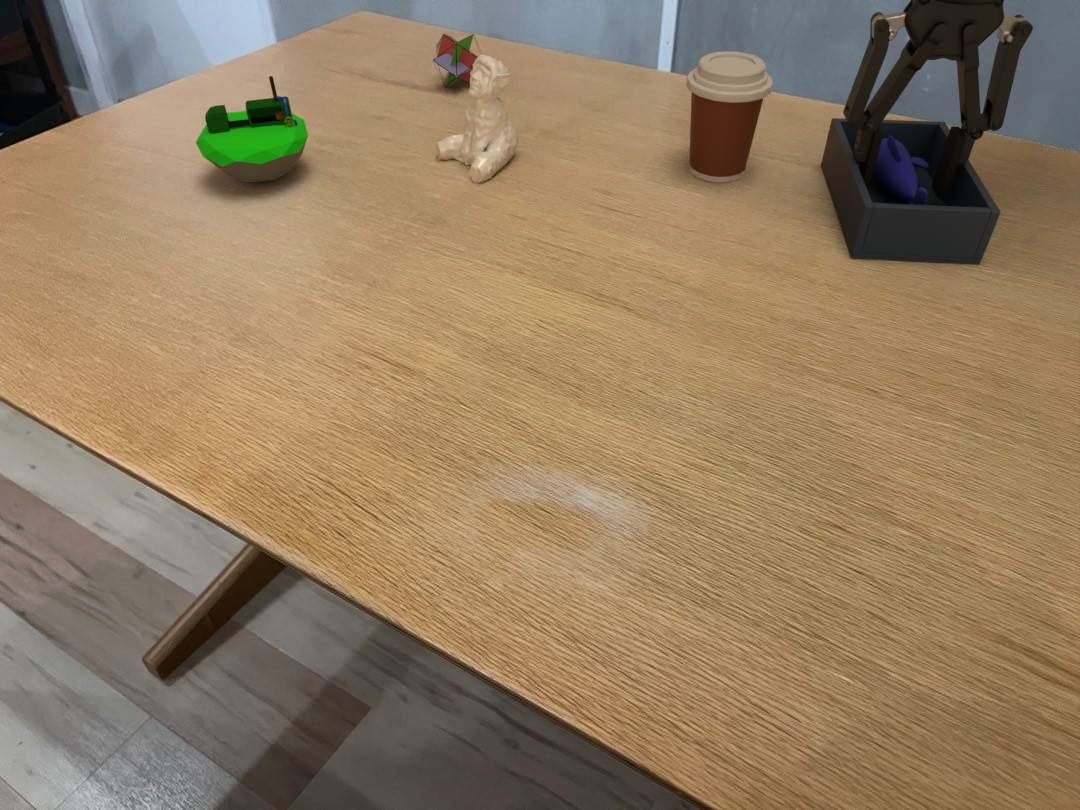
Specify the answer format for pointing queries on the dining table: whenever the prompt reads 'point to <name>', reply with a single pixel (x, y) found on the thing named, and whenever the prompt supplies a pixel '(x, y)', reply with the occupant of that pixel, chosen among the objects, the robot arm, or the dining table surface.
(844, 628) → the dining table surface
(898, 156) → the fish toy
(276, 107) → the miniature floating island
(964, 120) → the robot arm
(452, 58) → the geometric puzzle
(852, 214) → the bin
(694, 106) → the coffee cup
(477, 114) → the seated clay statuette
